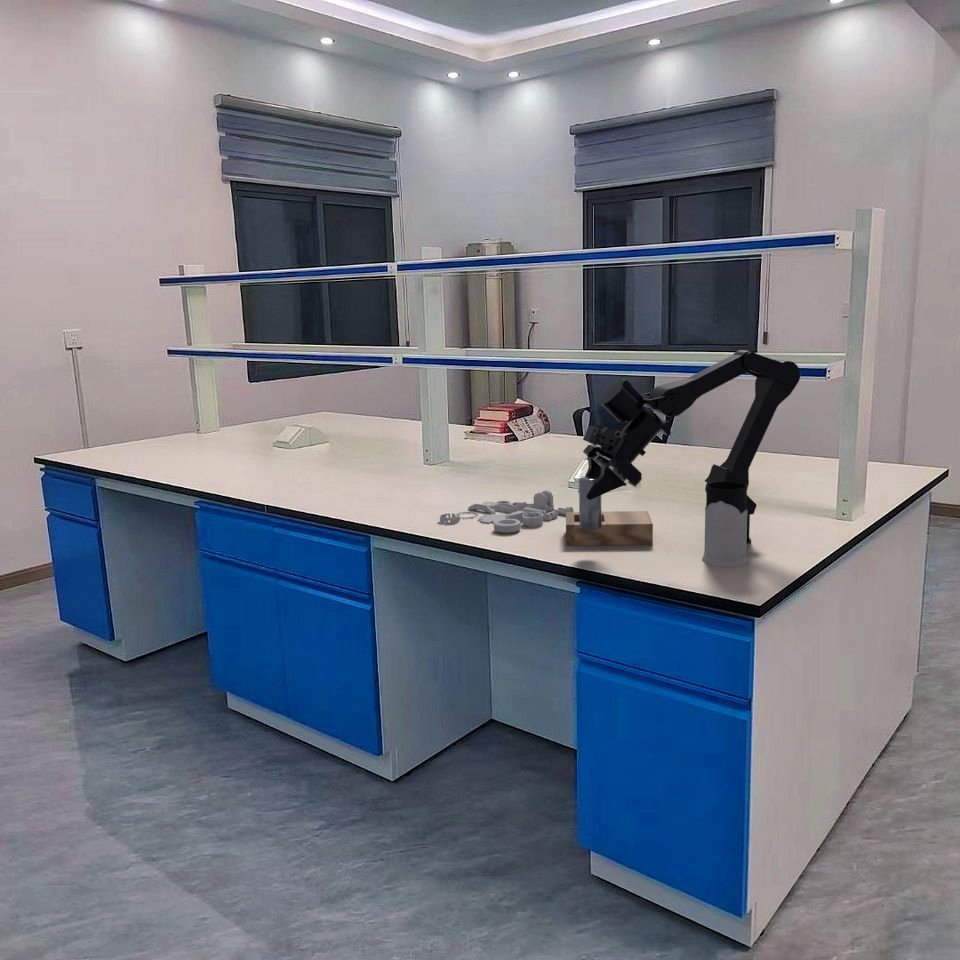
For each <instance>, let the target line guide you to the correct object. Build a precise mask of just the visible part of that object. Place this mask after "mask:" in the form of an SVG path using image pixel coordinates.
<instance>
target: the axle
mask: <svg viewBox="0 0 960 960" xmlns="http://www.w3.org/2000/svg"><path fill="white" fill-rule="evenodd" d="M597 479H598V477H585V476H583V477H580V478H578V490H579V492H578V496H579V497H578V500H579V501H578V503H579V505H578V507H579V511H578V512H579V515H580V528H581V529H583V530H598V529H601V528H602V514H601V512H602V495H600V496H598V497H596V498H594V499H592V500H589V499H588V498H586V495H587V494H588V492H589V491H590V489H591V488H592V486H593V485H594V483H595V482H596V480H597Z"/></svg>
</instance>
